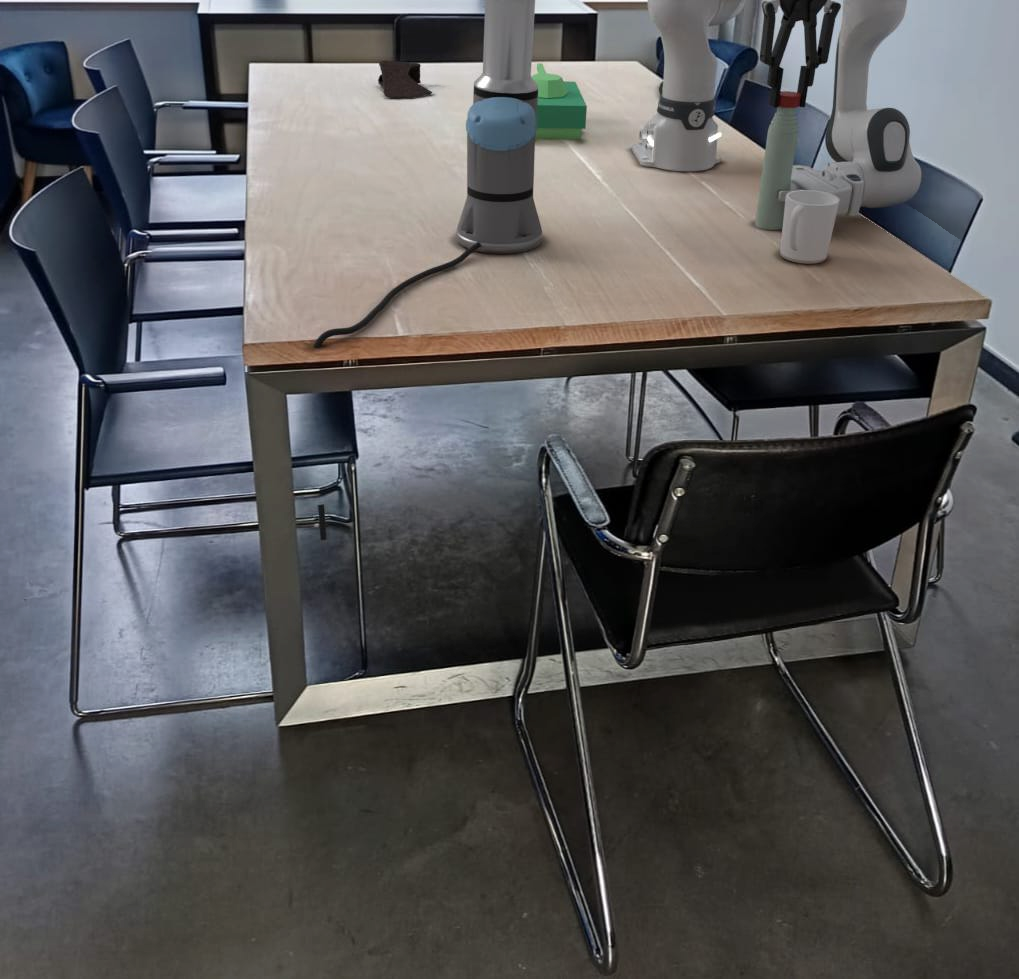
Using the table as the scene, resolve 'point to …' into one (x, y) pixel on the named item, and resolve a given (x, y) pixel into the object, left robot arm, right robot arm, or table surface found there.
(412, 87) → the axe head
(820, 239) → the mug
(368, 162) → the table surface
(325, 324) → the table surface
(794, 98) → the cap
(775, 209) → the bottle
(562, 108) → the toy tank
